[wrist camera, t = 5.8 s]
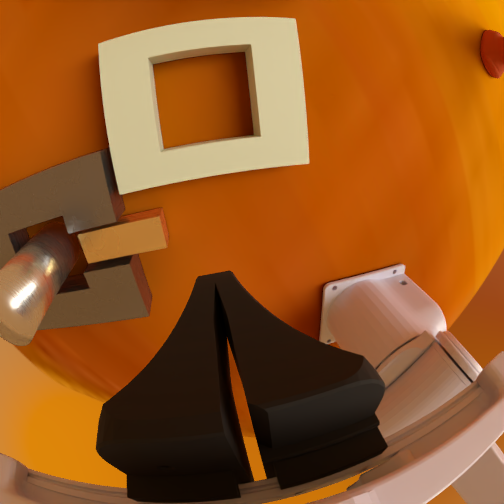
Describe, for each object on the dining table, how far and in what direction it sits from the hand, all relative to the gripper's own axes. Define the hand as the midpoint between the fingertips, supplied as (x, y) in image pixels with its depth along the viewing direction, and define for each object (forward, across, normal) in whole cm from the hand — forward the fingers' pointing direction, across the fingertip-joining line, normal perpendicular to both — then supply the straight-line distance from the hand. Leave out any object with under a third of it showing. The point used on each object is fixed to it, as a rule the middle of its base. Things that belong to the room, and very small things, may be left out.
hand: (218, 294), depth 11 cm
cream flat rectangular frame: (+10, -1, -8) cm, 13 cm away
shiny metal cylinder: (+10, +12, 0) cm, 15 cm away
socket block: (+10, +12, 0) cm, 15 cm away
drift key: (+9, +6, 0) cm, 11 cm away
